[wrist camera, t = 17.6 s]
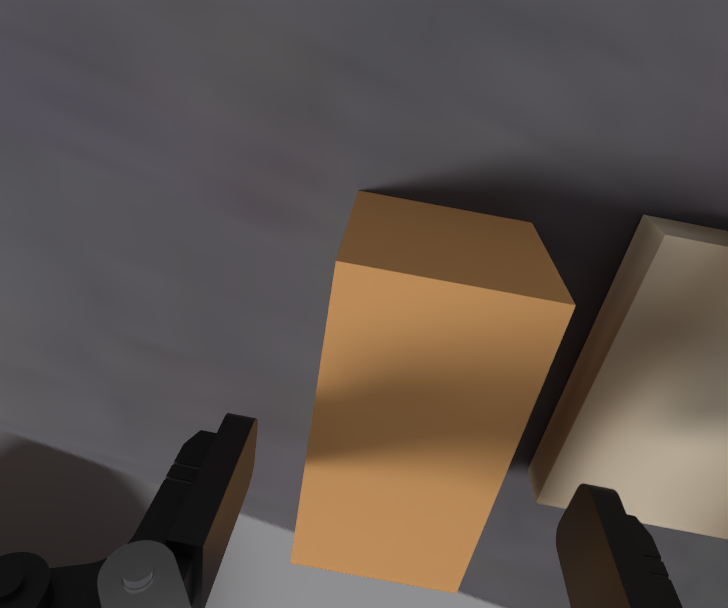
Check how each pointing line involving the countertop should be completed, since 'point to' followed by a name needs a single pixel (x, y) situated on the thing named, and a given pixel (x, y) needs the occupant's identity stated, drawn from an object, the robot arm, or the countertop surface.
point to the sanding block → (423, 387)
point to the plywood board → (651, 387)
